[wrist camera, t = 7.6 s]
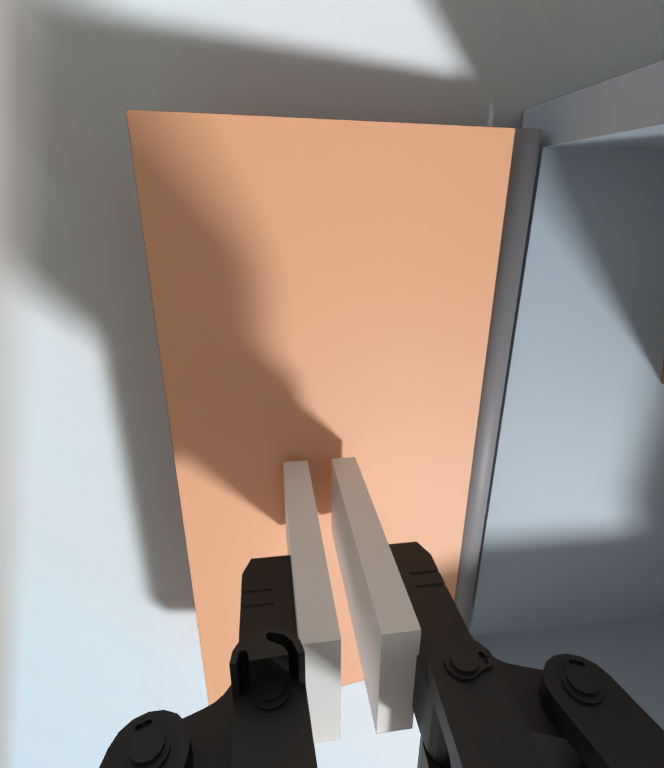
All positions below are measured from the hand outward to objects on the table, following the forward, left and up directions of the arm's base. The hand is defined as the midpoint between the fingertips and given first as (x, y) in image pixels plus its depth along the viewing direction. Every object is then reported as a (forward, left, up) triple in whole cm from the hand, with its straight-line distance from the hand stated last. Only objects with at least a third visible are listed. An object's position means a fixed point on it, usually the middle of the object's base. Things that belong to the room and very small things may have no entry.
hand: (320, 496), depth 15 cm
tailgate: (0, +6, -2) cm, 6 cm away
